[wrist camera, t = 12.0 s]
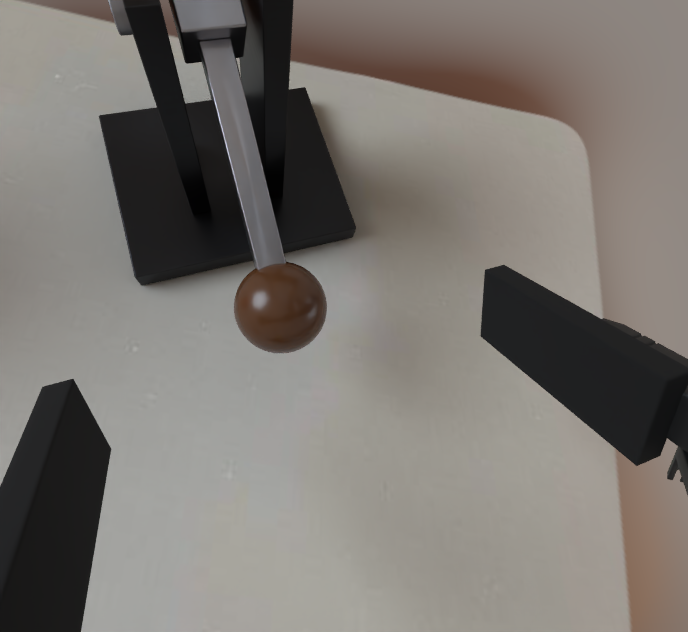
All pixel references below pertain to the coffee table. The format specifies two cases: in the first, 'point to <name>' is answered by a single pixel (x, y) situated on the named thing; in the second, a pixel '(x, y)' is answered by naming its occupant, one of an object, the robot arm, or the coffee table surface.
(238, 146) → the lever with brown knob
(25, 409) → the coffee table surface
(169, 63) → the black lever base
